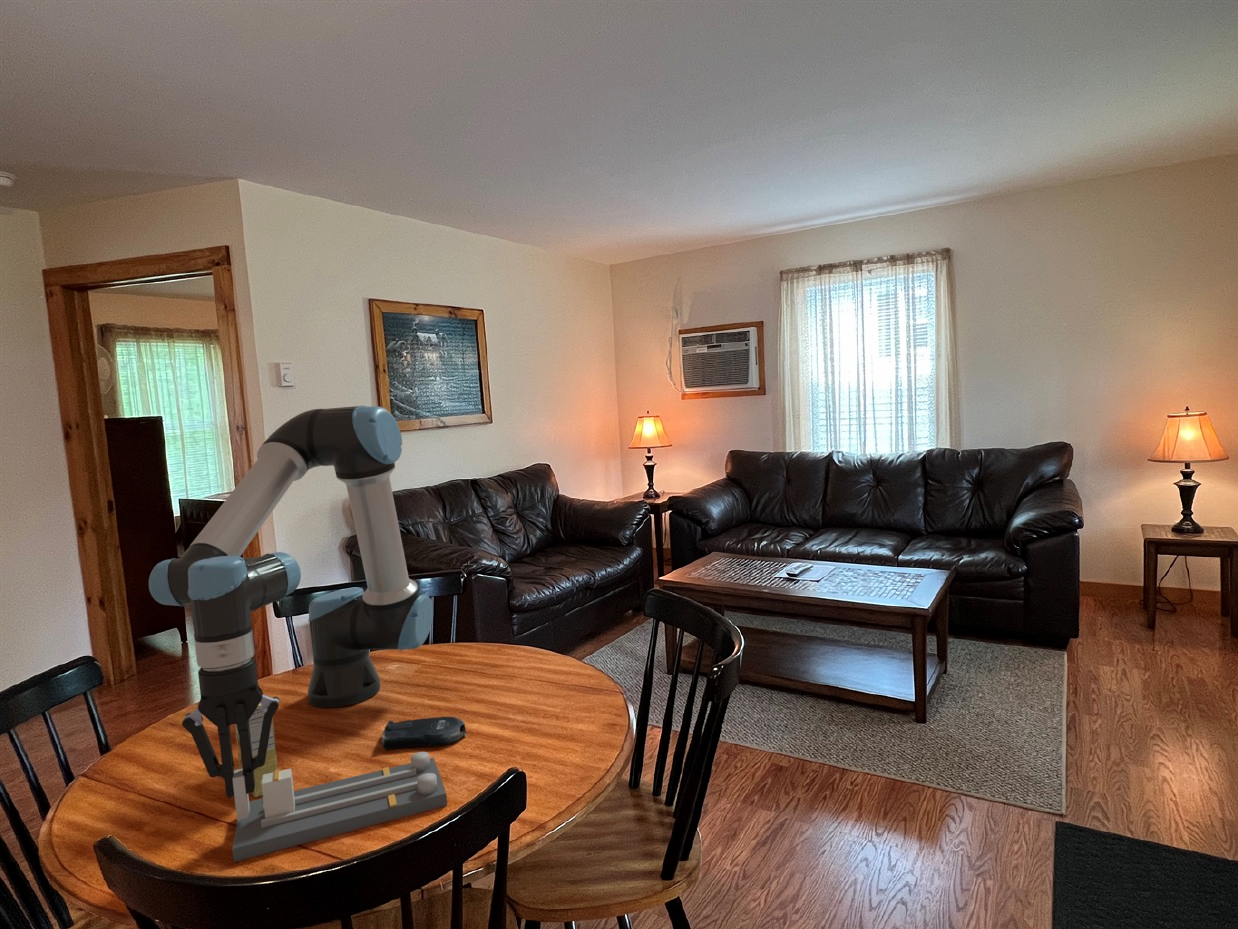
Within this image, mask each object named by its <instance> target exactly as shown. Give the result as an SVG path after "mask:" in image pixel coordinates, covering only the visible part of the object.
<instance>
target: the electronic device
mask: <svg viewBox="0 0 1238 929" xmlns="http://www.w3.org/2000/svg"><path fill="white" fill-rule="evenodd" d="M466 729H467V728H466V724H465V721H464V720H462V719H461V718H458V717H454V716H437V717H425V718H418V719H412V720H403V721H399V722H394V721H393V720H390V719H389V720H388V721H387V724H386V725H385V727H384V730H383V731H382V734H381V746H380V747H382V748H383V749H384V750H390V749H401V748H404V749H405V748H410V747H411V748H412V747H413V748H414V747H419V746H423V747H424V746H425V747H436V746H440V747H443V746H445V745H446V746H447V745H450V744H451V745H452V744H453V743H455V742H457V741H459V740H461V738H463V737H464V736H465V737H467V735H466V733H467V730H466ZM462 732H463V733H462Z"/></svg>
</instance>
